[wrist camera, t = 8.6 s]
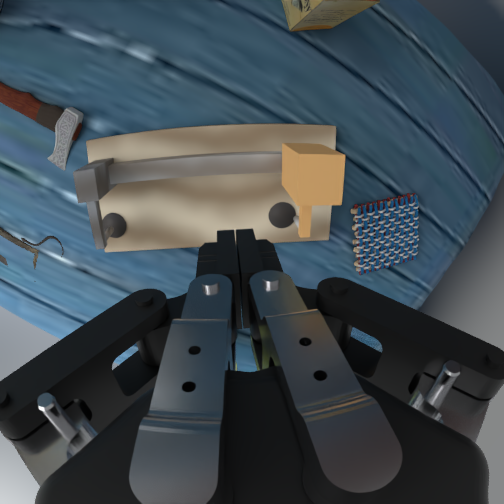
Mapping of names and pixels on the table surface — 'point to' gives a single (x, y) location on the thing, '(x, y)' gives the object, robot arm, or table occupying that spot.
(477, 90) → the table surface
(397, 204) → the woven mat
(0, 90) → the hand axe
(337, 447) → the robot arm
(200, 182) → the board
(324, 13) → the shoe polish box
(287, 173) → the block
